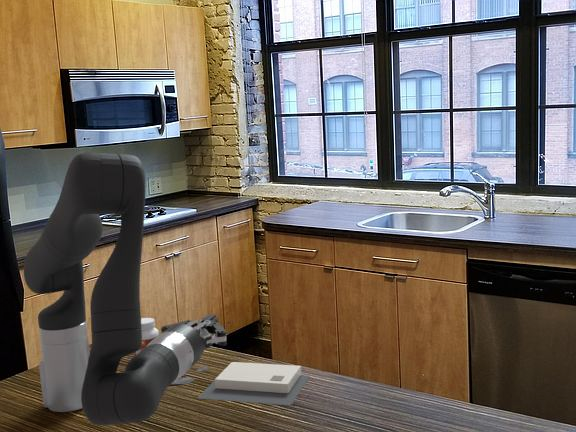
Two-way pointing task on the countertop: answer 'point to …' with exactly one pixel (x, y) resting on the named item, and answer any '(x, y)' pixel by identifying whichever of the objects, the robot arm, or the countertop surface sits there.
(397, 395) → the countertop surface
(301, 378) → the rubber mat
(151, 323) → the pill bottle
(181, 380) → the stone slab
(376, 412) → the countertop surface
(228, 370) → the flat white box
